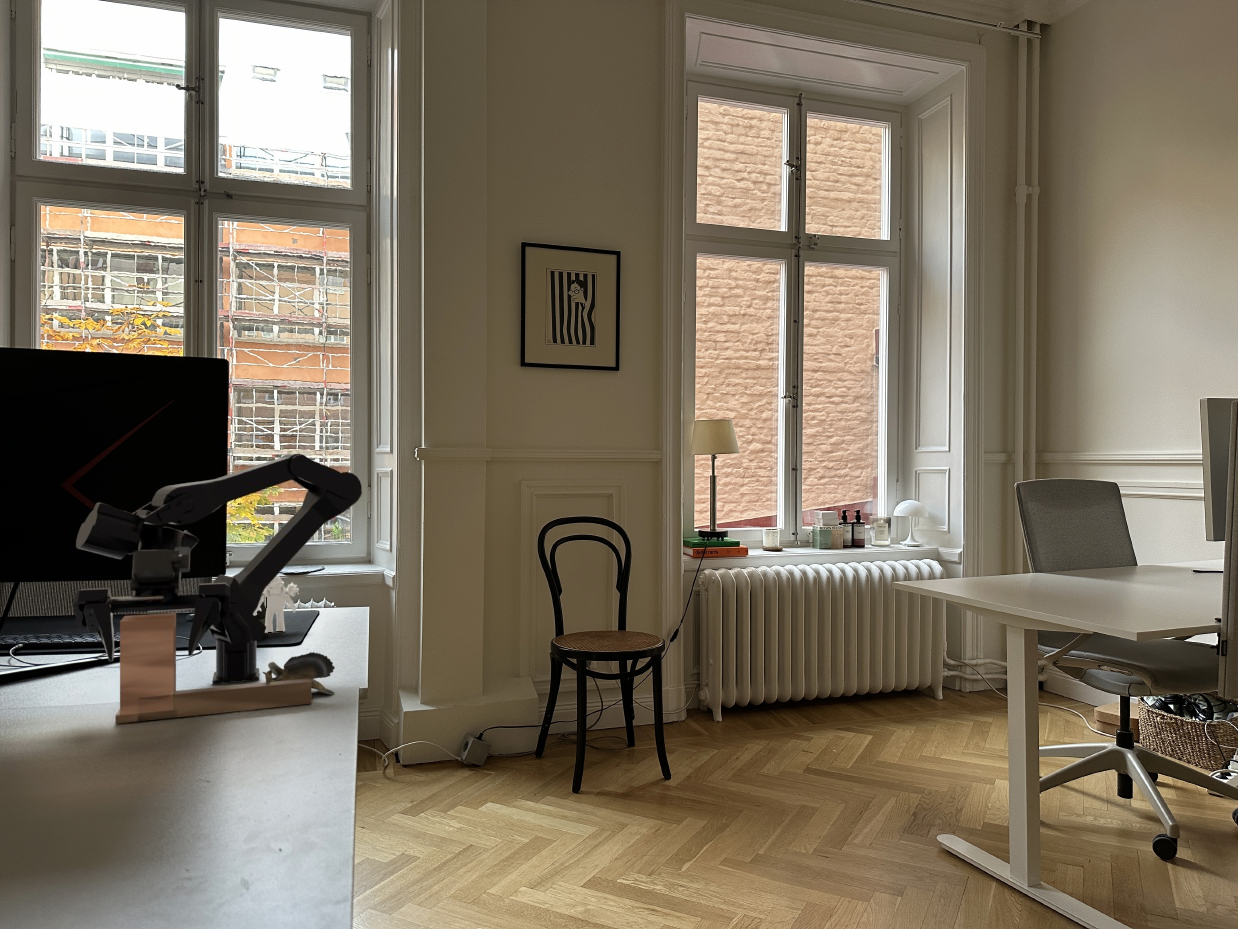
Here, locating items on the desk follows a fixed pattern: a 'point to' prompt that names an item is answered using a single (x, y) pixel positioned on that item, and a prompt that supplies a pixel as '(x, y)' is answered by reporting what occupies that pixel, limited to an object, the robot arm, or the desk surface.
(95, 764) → the desk surface
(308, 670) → the brown squirrel figurine
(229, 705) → the wooden l-shaped stand
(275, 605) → the blocky character figurine
